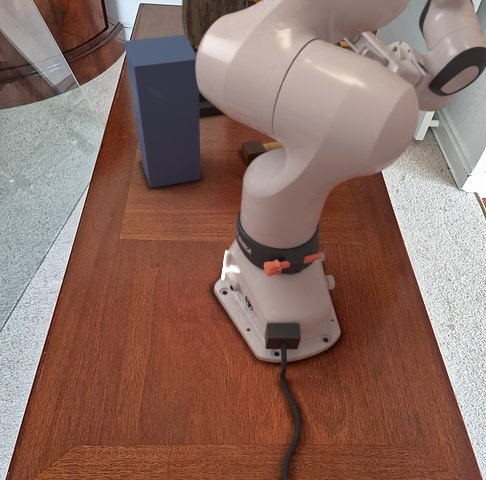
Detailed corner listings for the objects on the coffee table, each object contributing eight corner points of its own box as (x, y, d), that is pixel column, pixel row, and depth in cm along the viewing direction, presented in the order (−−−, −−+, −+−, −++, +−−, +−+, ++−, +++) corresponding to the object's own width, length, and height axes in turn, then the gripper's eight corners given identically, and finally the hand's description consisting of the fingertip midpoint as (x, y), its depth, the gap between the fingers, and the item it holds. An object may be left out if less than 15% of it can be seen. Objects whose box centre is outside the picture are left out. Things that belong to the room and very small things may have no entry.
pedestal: (200, 179, 91) (198, 59, 71) (150, 188, 88) (134, 66, 69) (190, 154, 95) (185, 34, 76) (141, 162, 93) (124, 40, 73)
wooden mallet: (319, 138, 101) (321, 129, 99) (326, 150, 99) (329, 140, 97) (241, 151, 96) (242, 142, 95) (247, 163, 94) (248, 154, 92)
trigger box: (227, 113, 104) (228, 96, 101) (184, 119, 102) (183, 103, 99) (212, 84, 111) (212, 68, 108) (171, 90, 108) (170, 73, 105)
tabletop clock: (239, 48, 122) (245, -66, 102) (240, 66, 117) (247, -50, 97) (184, 46, 121) (180, -70, 101) (183, 64, 116) (178, -54, 96)
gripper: (380, 28, 94) (335, -5, 86) (436, 81, 83) (391, 50, 75) (360, 56, 98) (315, 28, 89) (411, 111, 87) (365, 84, 78)
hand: (350, 38), depth 82 cm, fingers open, 8 cm apart
